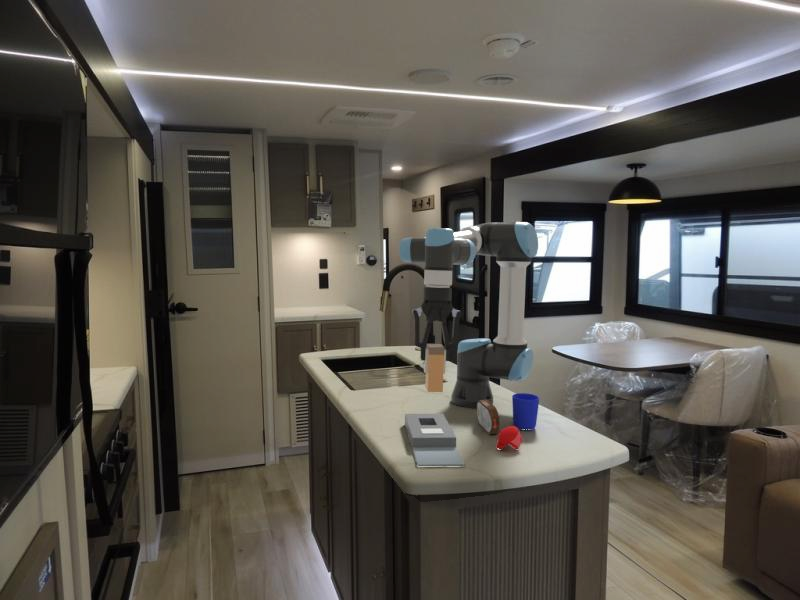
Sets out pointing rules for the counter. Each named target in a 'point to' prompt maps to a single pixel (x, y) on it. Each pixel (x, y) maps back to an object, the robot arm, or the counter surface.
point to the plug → (435, 368)
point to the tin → (488, 417)
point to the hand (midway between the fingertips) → (434, 372)
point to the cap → (509, 437)
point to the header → (429, 430)
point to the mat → (437, 456)
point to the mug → (525, 410)
